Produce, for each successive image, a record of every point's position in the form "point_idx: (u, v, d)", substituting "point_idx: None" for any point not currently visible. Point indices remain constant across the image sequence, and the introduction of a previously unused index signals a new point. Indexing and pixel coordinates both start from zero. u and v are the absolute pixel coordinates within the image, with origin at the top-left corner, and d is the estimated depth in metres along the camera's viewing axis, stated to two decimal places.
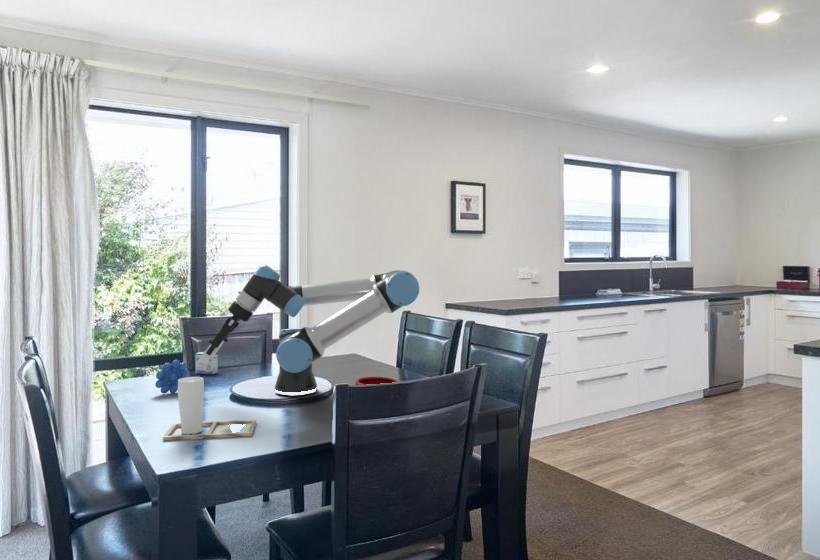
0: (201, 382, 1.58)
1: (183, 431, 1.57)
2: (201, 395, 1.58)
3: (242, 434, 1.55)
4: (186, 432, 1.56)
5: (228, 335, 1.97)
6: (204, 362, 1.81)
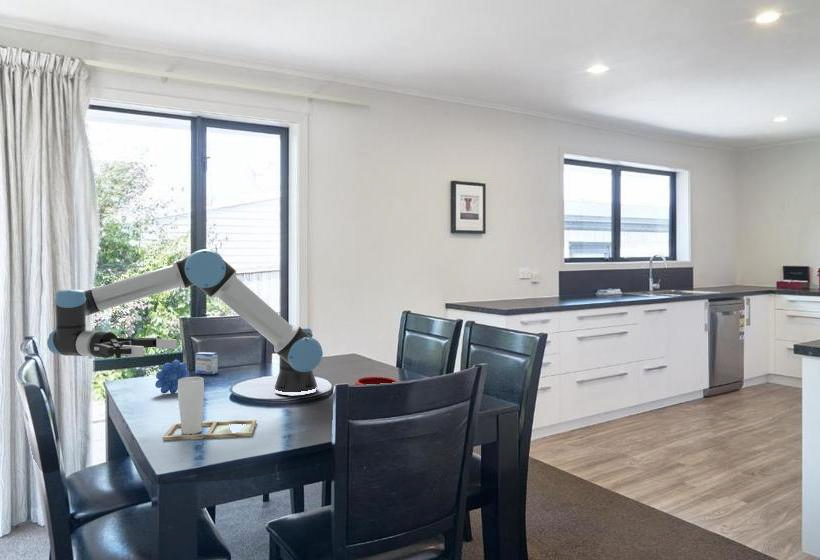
0: (201, 382, 1.58)
1: (183, 431, 1.57)
2: (201, 395, 1.58)
3: (242, 434, 1.55)
4: (186, 432, 1.56)
5: (154, 338, 1.71)
6: (140, 349, 1.54)
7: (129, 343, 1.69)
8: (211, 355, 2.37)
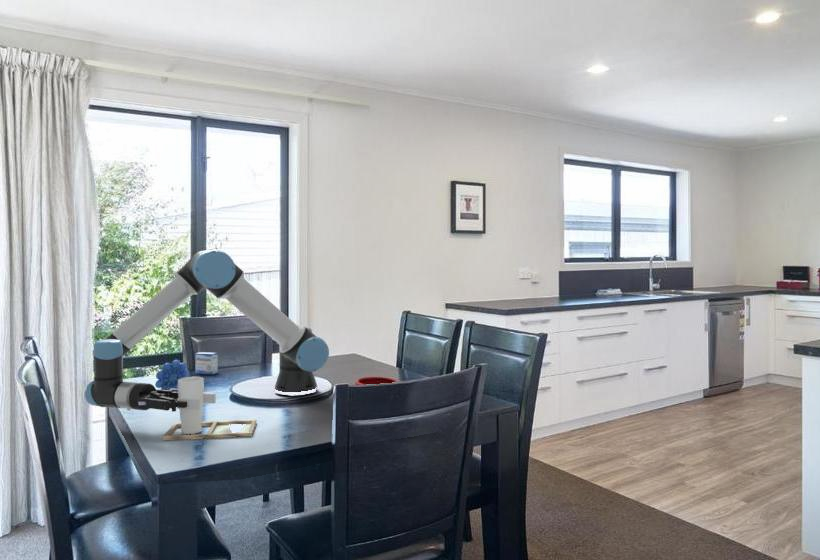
0: (201, 382, 1.58)
1: (183, 431, 1.57)
2: (201, 395, 1.58)
3: (242, 434, 1.55)
4: (186, 432, 1.56)
5: None
6: (196, 402, 1.54)
7: None
8: (211, 355, 2.37)
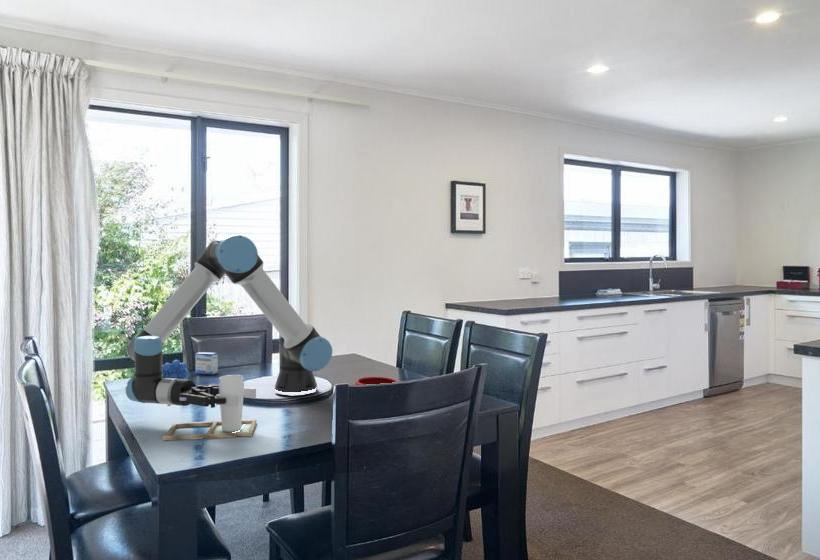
0: (242, 380, 1.59)
1: (224, 428, 1.58)
2: (242, 393, 1.60)
3: (242, 434, 1.55)
4: (227, 429, 1.58)
5: None
6: (235, 398, 1.55)
7: None
8: (211, 355, 2.37)
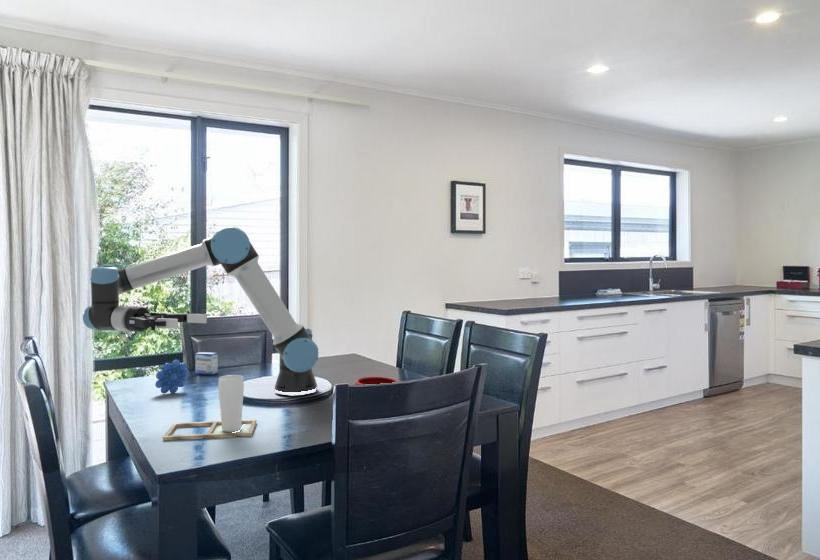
0: (241, 380, 1.59)
1: (224, 428, 1.58)
2: (241, 393, 1.59)
3: (242, 434, 1.55)
4: (227, 429, 1.58)
5: (184, 313, 1.78)
6: (174, 321, 1.61)
7: None
8: (211, 355, 2.37)
